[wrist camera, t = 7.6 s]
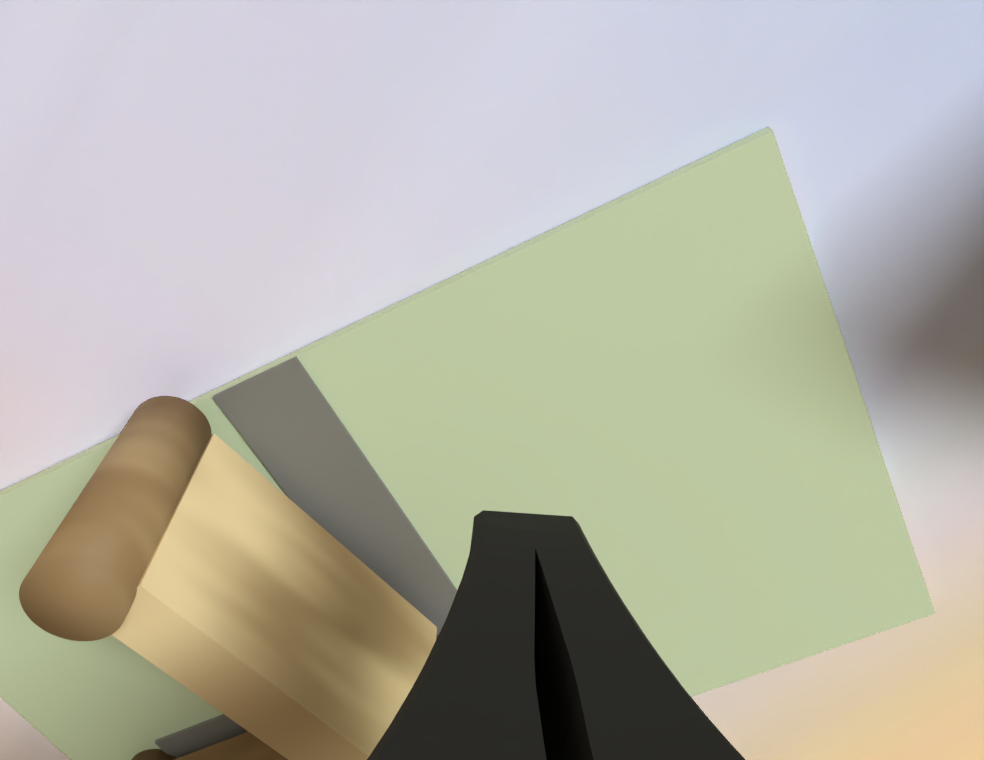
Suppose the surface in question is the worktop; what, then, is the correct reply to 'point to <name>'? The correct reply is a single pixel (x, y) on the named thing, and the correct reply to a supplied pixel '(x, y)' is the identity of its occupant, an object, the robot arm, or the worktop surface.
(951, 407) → the worktop surface
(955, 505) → the worktop surface
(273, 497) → the hinged panel
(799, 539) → the board
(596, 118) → the worktop surface
